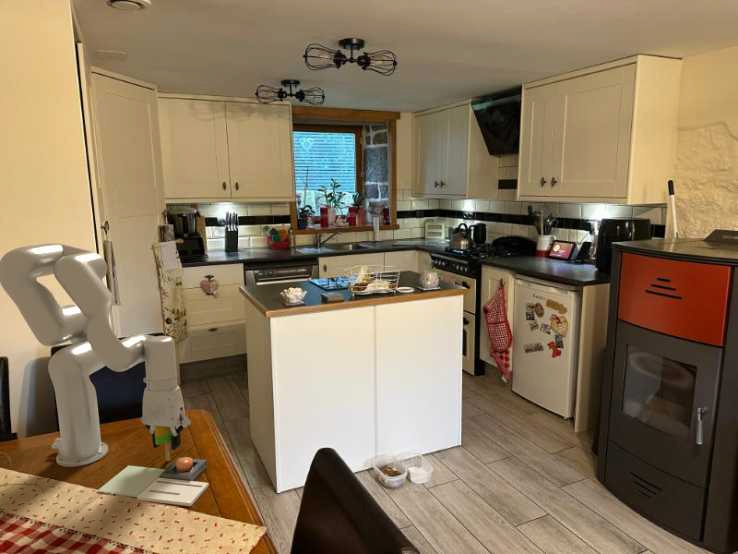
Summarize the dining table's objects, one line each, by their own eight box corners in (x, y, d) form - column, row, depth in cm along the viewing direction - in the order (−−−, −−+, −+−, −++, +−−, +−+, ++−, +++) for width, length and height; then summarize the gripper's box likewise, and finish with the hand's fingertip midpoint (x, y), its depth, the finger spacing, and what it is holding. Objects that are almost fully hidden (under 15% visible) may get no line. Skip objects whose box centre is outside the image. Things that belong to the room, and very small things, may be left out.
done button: (173, 471, 132) (172, 464, 131) (181, 463, 136) (181, 456, 135) (187, 472, 131) (187, 465, 131) (195, 464, 135) (195, 457, 134)
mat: (97, 493, 125) (96, 490, 125) (128, 467, 137) (128, 465, 136) (137, 497, 123) (137, 495, 123) (166, 471, 134) (165, 469, 134)
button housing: (162, 480, 130) (161, 473, 130) (179, 464, 138) (179, 457, 138) (191, 483, 129) (190, 476, 128) (206, 467, 137) (206, 460, 136)
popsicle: (158, 465, 137) (154, 413, 135) (156, 462, 139) (152, 410, 137) (179, 459, 141) (175, 407, 138) (177, 456, 142) (173, 405, 140)
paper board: (137, 499, 122) (136, 496, 122) (158, 480, 130) (158, 477, 130) (190, 506, 119) (190, 502, 119) (208, 485, 128) (208, 482, 128)
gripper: (124, 385, 134) (130, 450, 137) (183, 390, 131) (188, 456, 134) (142, 376, 141) (147, 437, 144) (198, 379, 138) (202, 442, 141)
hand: (167, 445), depth 139 cm, fingers closed on popsicle, 4 cm apart
